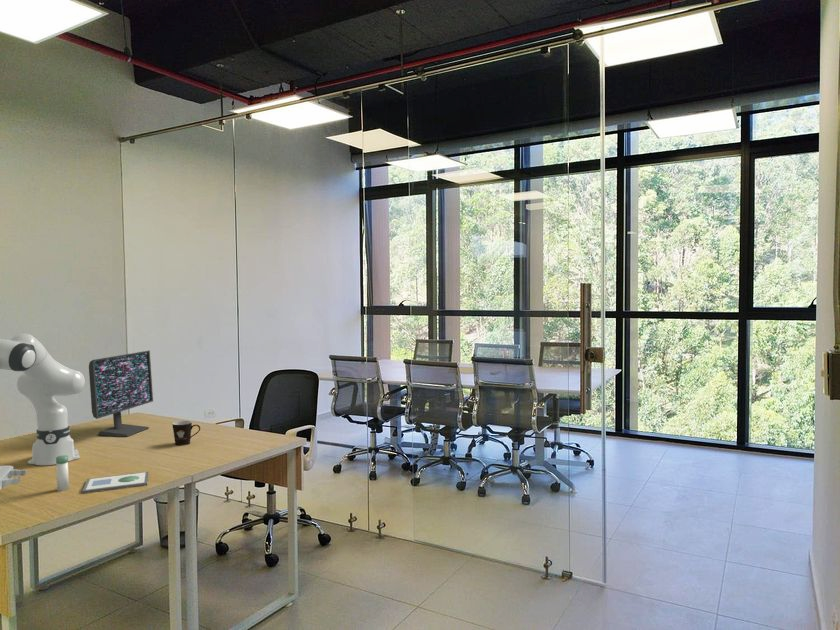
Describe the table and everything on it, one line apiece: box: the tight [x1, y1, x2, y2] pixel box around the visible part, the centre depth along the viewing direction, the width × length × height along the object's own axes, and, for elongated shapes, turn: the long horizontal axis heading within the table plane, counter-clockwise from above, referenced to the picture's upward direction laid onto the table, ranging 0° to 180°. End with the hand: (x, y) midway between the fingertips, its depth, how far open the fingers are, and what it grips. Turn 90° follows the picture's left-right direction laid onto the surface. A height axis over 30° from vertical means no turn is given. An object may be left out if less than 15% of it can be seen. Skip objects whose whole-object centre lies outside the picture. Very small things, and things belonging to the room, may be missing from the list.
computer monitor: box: [88, 350, 154, 438], centre depth 294 cm, size 44×16×40 cm, turn 171°
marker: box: [55, 455, 70, 492], centre depth 209 cm, size 4×4×12 cm
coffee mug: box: [172, 420, 201, 447], centre depth 271 cm, size 12×9×10 cm
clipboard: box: [81, 471, 149, 494], centre depth 216 cm, size 15×21×1 cm
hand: (22, 476), depth 205 cm, fingers open, 8 cm apart
